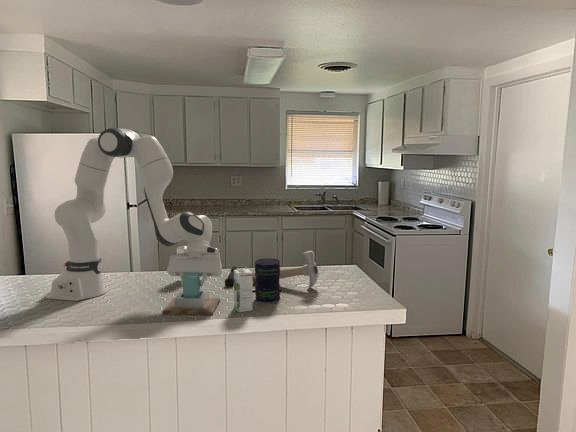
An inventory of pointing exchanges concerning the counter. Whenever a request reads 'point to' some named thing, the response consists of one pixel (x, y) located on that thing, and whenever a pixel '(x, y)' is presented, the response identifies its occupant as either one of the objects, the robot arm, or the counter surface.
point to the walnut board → (208, 309)
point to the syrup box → (242, 290)
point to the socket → (192, 301)
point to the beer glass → (181, 250)
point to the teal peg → (191, 285)
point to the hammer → (301, 270)
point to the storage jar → (267, 280)
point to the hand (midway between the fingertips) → (191, 285)
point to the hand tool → (230, 278)
